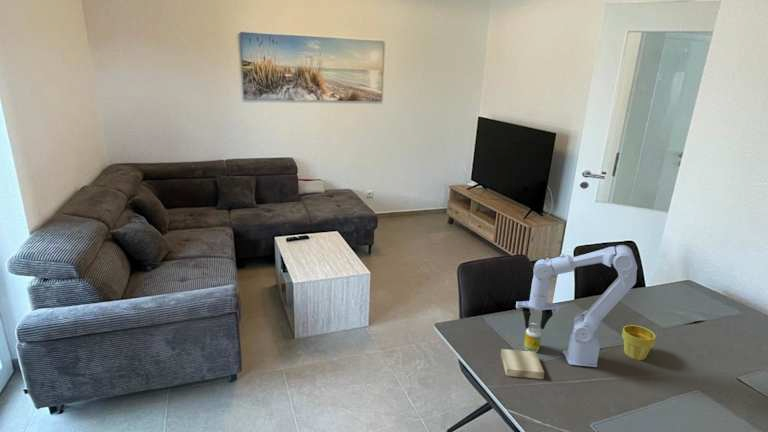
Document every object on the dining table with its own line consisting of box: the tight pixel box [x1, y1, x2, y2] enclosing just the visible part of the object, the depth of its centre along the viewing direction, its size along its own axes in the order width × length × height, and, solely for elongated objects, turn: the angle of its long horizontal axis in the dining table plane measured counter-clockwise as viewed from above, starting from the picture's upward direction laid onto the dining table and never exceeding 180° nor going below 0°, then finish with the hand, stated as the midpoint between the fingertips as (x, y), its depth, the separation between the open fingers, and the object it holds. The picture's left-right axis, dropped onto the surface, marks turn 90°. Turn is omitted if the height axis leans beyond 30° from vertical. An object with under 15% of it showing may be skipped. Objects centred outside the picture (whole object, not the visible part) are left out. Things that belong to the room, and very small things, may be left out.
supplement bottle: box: [523, 322, 542, 353], centre depth 162 cm, size 5×5×10 cm
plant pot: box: [621, 324, 657, 361], centre depth 160 cm, size 10×10×10 cm
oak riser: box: [500, 348, 545, 380], centre depth 152 cm, size 12×12×3 cm
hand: (534, 327), depth 161 cm, fingers open, 5 cm apart
